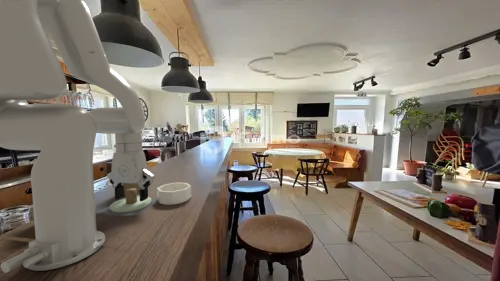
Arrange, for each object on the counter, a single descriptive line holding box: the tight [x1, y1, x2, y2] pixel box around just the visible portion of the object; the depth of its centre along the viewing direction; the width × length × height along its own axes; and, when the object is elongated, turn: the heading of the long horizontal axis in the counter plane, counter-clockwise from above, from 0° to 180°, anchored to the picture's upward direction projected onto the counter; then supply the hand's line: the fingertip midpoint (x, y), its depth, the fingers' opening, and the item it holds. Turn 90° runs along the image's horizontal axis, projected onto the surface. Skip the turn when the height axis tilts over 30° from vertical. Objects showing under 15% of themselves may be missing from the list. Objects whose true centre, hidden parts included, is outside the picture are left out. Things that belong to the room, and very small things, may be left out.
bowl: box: [156, 182, 192, 206], centre depth 72 cm, size 11×11×5 cm
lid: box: [109, 188, 152, 213], centre depth 66 cm, size 12×12×5 cm
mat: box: [95, 197, 159, 217], centre depth 66 cm, size 14×14×1 cm
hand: (131, 198), depth 66 cm, fingers open, 8 cm apart
